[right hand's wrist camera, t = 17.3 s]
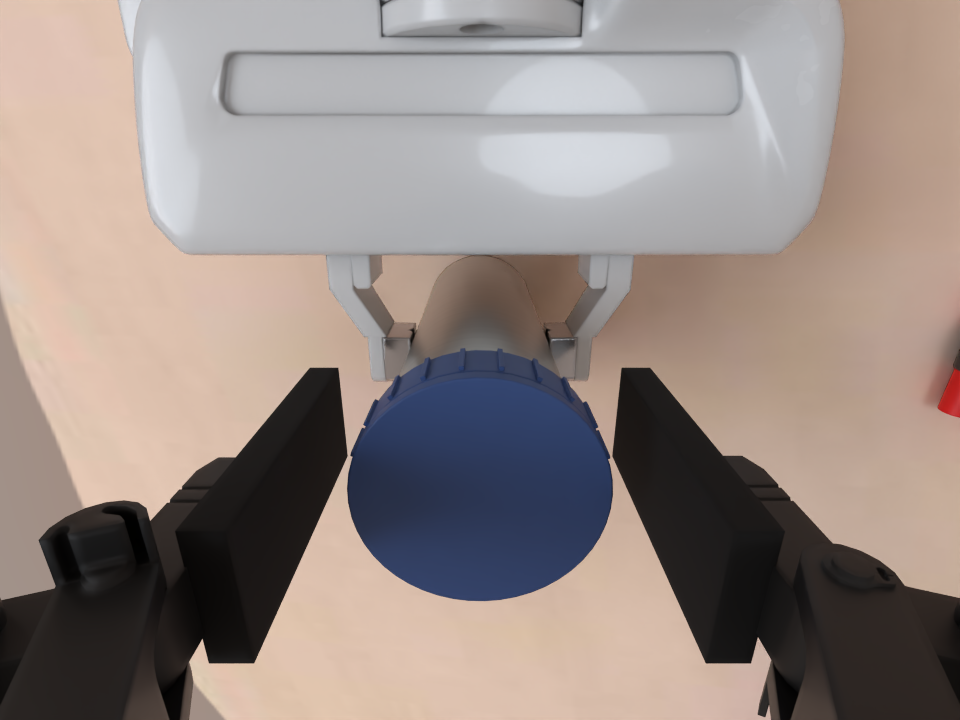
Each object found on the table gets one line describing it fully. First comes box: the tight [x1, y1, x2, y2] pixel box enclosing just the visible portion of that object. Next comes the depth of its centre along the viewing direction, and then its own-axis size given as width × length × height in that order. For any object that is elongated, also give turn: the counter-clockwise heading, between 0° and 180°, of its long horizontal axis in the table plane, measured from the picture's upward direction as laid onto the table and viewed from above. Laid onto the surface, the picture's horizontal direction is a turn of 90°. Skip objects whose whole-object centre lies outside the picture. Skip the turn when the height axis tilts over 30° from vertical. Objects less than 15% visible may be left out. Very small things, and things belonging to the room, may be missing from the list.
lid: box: [347, 348, 613, 601], centre depth 11 cm, size 6×6×2 cm
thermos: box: [400, 255, 561, 378], centre depth 18 cm, size 5×5×15 cm
